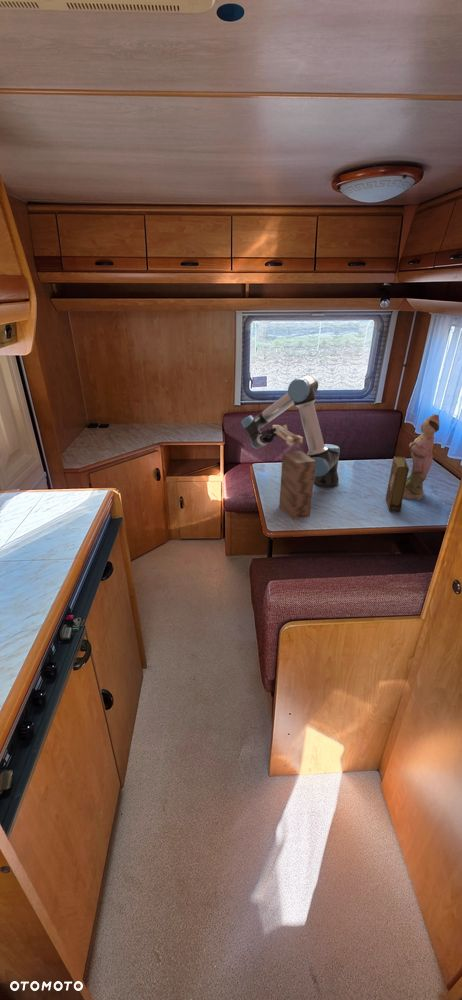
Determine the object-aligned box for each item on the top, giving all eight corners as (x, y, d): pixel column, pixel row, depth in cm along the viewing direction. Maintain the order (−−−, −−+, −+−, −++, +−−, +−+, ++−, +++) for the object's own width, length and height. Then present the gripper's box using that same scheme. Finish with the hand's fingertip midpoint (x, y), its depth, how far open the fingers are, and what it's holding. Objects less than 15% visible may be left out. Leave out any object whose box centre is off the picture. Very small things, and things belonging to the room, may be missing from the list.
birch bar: (280, 430, 231) (281, 424, 230) (302, 444, 211) (303, 437, 210) (269, 431, 229) (269, 425, 228) (289, 445, 209) (290, 439, 208)
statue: (424, 490, 247) (442, 413, 227) (423, 501, 234) (441, 421, 214) (396, 485, 253) (411, 409, 233) (393, 496, 240) (408, 417, 219)
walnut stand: (295, 503, 231) (300, 450, 217) (309, 515, 218) (315, 460, 205) (279, 506, 228) (282, 452, 214) (292, 519, 215) (297, 463, 202)
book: (385, 498, 238) (393, 455, 227) (395, 498, 237) (404, 456, 226) (388, 511, 223) (397, 467, 212) (399, 512, 222) (409, 467, 211)
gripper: (279, 442, 246) (298, 433, 224) (253, 445, 241) (269, 436, 218) (277, 429, 246) (295, 418, 224) (250, 432, 241) (267, 421, 219)
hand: (282, 427), depth 221 cm, fingers closed on birch bar, 3 cm apart
